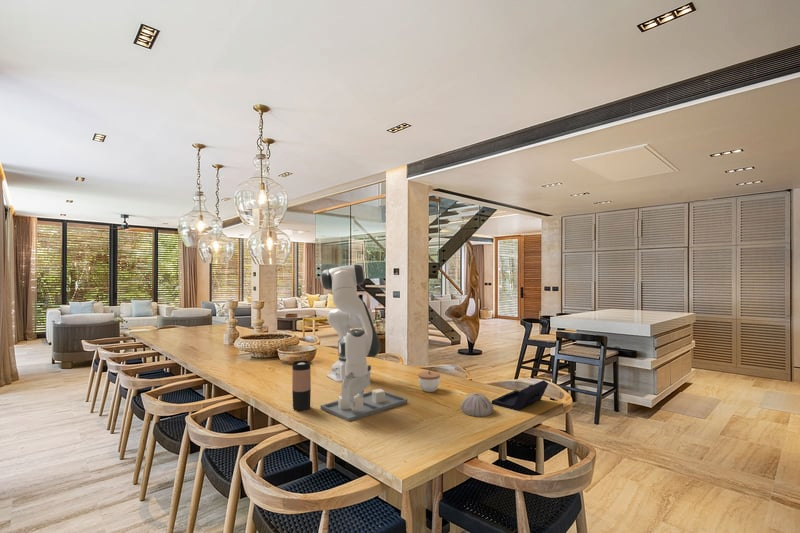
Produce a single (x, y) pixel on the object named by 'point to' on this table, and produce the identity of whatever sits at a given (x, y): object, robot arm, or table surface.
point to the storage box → (522, 397)
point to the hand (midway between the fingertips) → (356, 403)
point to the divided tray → (364, 406)
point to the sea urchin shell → (477, 405)
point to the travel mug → (301, 385)
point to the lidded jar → (429, 381)
